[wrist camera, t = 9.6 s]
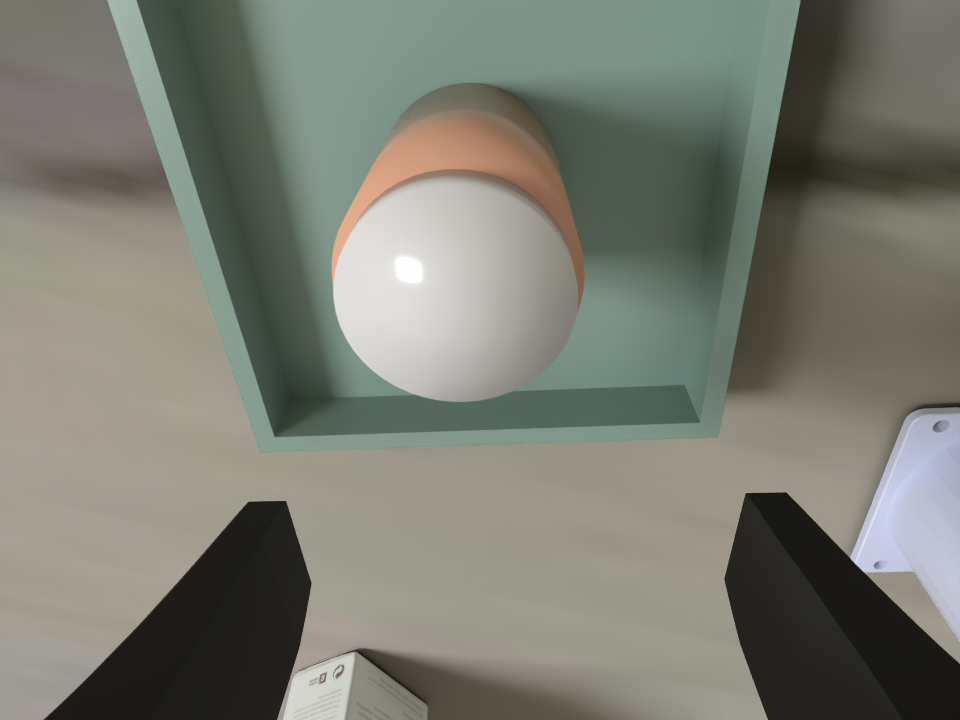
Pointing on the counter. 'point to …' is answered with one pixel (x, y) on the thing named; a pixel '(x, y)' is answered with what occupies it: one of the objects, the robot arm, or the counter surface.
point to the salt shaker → (460, 250)
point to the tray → (582, 160)
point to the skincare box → (350, 693)
